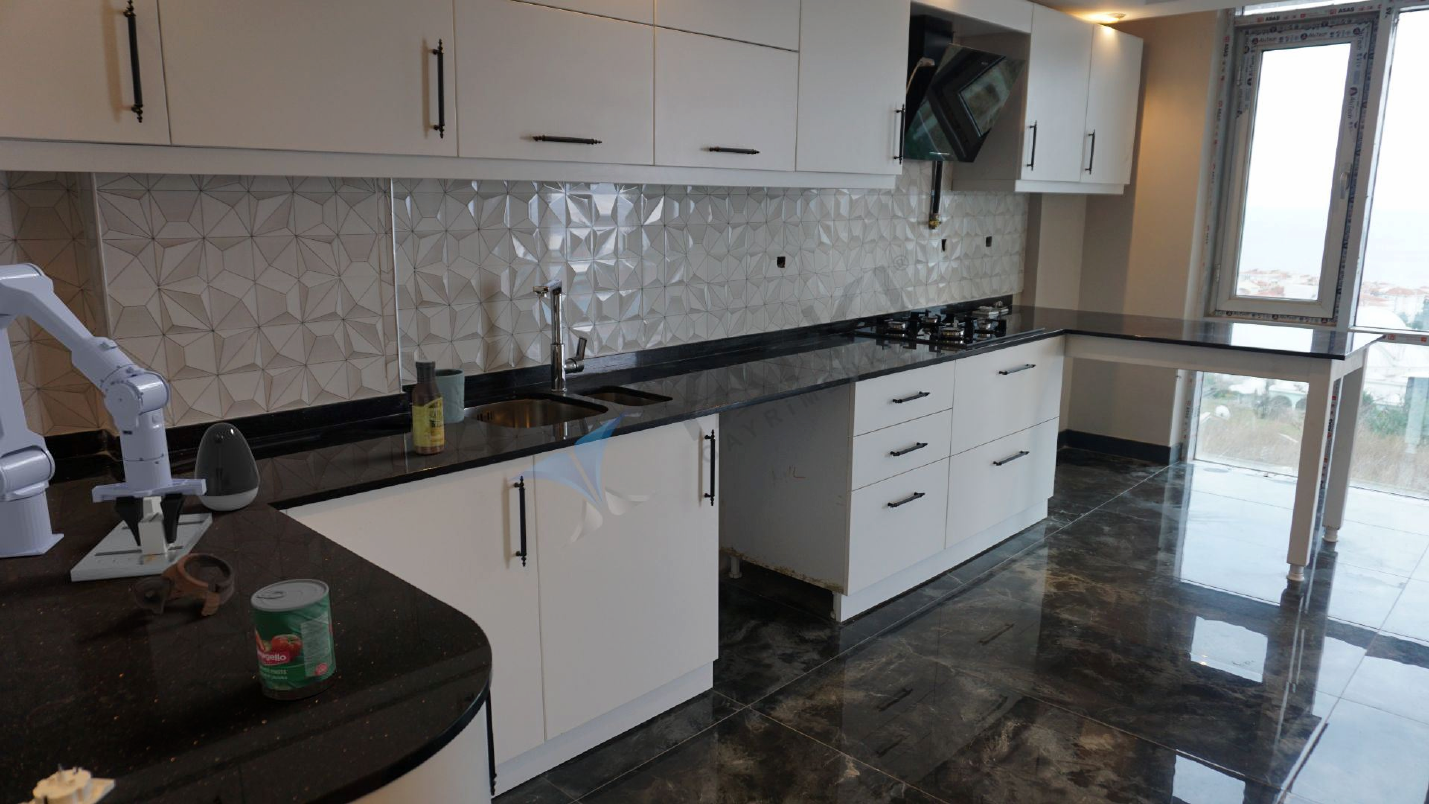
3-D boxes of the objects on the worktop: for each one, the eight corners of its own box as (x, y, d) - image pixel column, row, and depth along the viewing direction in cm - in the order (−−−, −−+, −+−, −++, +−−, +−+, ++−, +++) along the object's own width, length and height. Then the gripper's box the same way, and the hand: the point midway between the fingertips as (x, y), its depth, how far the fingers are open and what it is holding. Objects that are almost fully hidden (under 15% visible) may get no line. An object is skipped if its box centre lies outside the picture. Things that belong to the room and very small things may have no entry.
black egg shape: (190, 518, 157) (179, 432, 153) (205, 499, 167) (195, 418, 163) (255, 513, 159) (246, 428, 156) (267, 495, 169) (258, 414, 166)
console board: (71, 581, 131) (70, 570, 131) (125, 528, 152) (124, 518, 152) (173, 572, 134) (172, 561, 134) (212, 522, 155) (211, 512, 155)
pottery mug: (199, 590, 130) (222, 544, 128) (230, 635, 126) (255, 588, 124) (108, 600, 119) (132, 550, 118) (140, 649, 115) (165, 598, 113)
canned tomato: (347, 665, 108) (339, 578, 106) (321, 701, 101) (312, 608, 98) (279, 666, 108) (269, 578, 106) (248, 702, 101) (237, 608, 98)
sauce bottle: (435, 456, 195) (430, 364, 191) (409, 454, 196) (402, 362, 192) (450, 448, 201) (445, 358, 197) (424, 446, 202) (418, 357, 198)
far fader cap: (134, 531, 146) (129, 500, 145) (143, 521, 150) (139, 491, 149) (155, 529, 147) (151, 499, 146) (163, 520, 151) (159, 490, 150)
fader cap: (142, 555, 136) (137, 522, 135) (151, 544, 141) (147, 512, 139) (165, 553, 137) (160, 520, 136) (173, 542, 141) (169, 511, 140)
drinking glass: (472, 415, 231) (470, 368, 228) (457, 425, 221) (455, 376, 218) (434, 414, 232) (431, 367, 229) (417, 424, 222) (414, 375, 219)
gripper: (78, 466, 130) (92, 556, 133) (192, 459, 134) (203, 547, 137) (97, 453, 137) (110, 539, 140) (205, 447, 140) (215, 531, 143)
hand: (157, 542), depth 139 cm, fingers open, 3 cm apart
